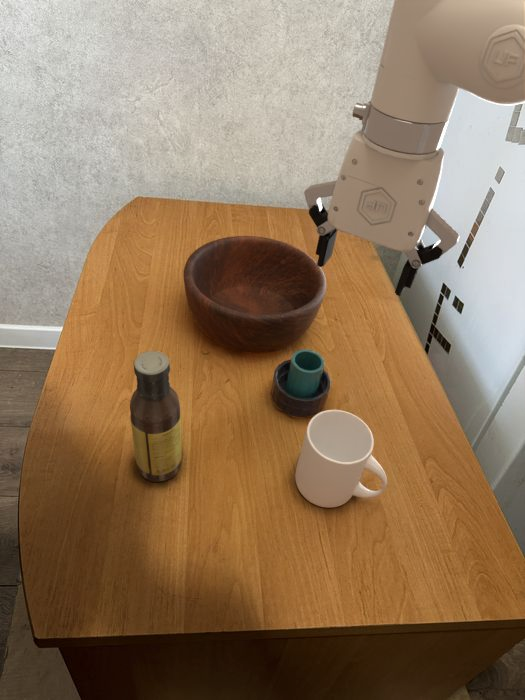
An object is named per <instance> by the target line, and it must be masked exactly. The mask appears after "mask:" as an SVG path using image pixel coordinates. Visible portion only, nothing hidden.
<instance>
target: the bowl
mask: <svg viewBox="0 0 525 700" xmlns="http://www.w3.org/2000/svg"><path fill="white" fill-rule="evenodd" d="M290 362H291V358H290V359H287V360H284V361H282V362H281V363H279V364H278V365H277V366H276V368H275V369H274V371H273V377H272V381H271V382H272V383H271V386H270V392H269V395H270V398H271V401H272V403H273V404H274V405H275V407H276V408H277V409H278V410H280V412H282V413H284V414H285V415H288V416H290V417H294V418H300V419H301V418H309V417H314V416H315V415H317V414H318V413H321V412H322V411H323V409H324V408H325V406H326V404H327V400H328V397H329V394H330V390H331V388H332V387H331V385H332V380H331V377H330V374H329V373H328V372H327V370H326V369H325V368H324V369H323V372H322V376H321V380H320V383H319V387H318V391H317V395H316V397H314V398H299V397H295V396H293V395H290V394H288V393H287V392H285V386H286V381H287V377H288V372H289V367H290Z"/></svg>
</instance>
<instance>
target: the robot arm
mask: <svg viewBox="0 0 525 700" xmlns="http://www.w3.org/2000/svg"><path fill="white" fill-rule="evenodd" d="M385 34H386V35H385V39H384V43H383V46H382V47H383V48H382V51H381V55H380V60H379V64H378V69H377V73H376V77H375V81H374V85H373V90H372V94H371V98H370V100H369V102H368V103H367V102H363V103H360V102H356V103H355V104H354V107H353V108H352V109H353V110H352V117H353V118H356V119H358V120H359V121H361V125H362V126H361V129H359V130H358V131H356V132H355V133H354V134H353V136H352V138H351V140H350V142H349V144H348V147H347V150H346V152H345V155H344V158H343V160H342V164H341V166H340V169H339V172H338V175H337V179H336V180H333V181H327V182H321V183H316V184H310V185H309V186H308V187H307V188H305V190H304V191H303V193H304V198H305V201H306V204H307V207H308V209H309V210H308V215H309V216H310V219H311V220H312V221H313V224H314V225H315V226H316V233H317V234H318V240H317V245H316V249H315V255H317V256H318V257H317V266H320V267H321V268H322V267H325V265H326V264H327V263H328V261H329V260H330V259H331V257H332V256H333V251H334V247H335V243H336V239H337V234H338V231H339V232H342V233H344V234H348V235H350V236H353V237H355V238H358V239H360V240H364V241H367V242H370V243H373V244H376V245H379V246H381V247H384V248H387V249H390V250H394V251H397V252H404V254H405V256H406V258H407V260H406V262H405V263H404V265H403V267H402V271H401V272H400V276H399V279H398V282H397V284H396V288H395V291H394V294H395V295H396V296H398V297H401V296H402V294H403V292H404V290H405V288H408V289H411V288H412V286H413V285H414V282H415V279H416V276H417V274H418V270H419V269H420V268H421V267H422V266H424V265H426V264H429V263H431V262H434V261H436V260H439V259H440V258H441V257H442V256H443V255H444V254H445V253H447V252H448V251H449V250H450V249H452V248H453V247H454V246H456V245H457V243H458V242H459V239H460V234H459V232H458V231H456V230H455V229H454V227H453V226H451V224H449V222H447V220H445V219H444V217H442V216H441V215H440V214H439V213H438V212H437V211H436V210H435V209H434V208H433V207H434V204H435V201H436V198H437V193H438V190H439V186H440V181H441V177H442V172H443V165H444V159H445V152H444V149H443V148H442V147H441V145H442V143H443V138H444V136H445V133H446V130H447V127H448V124H449V121H450V118H451V115H452V113H453V109H454V107H455V104H456V101H457V98H458V95H459V92H460V89H461V90H462V91H465V92H466V93H468V94H470V95H472V96H474V97H477V98H478V99H480V100H483V101H485V102H488V103H490V104H493V105H494V104H495V105H498V106H516V105H521V104H524V103H525V0H394V1H393V5H392V10H391V14H390V17H389V21H388V26H387V31H386V33H385ZM327 197H331V199H330V203H329V207H328V211H327V210H326V208H325V205H324V204H323V203H322V198H327ZM426 228H429V230H431V231H432V232H433V233H434V234H435V235H436V236H437V237H438V238H439V240H438V241H437V242H435V243H432V244H430V245H428V246H426V245H425V243H424V240H423V239H422V237H423V233H424V232H425V230H426Z"/></svg>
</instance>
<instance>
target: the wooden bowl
mask: <svg viewBox="0 0 525 700" xmlns="http://www.w3.org/2000/svg"><path fill="white" fill-rule="evenodd" d="M317 263H318V261H316V260H315V259H314V258H313V257H312V256H311V255H309V254H308V253H306V252H305V251H303V250H302V249H300V248H298V247H296V246H294V245H292V244H290V243H287V242H284V241H282V240H278V239H274V238H269V237H264V236H258V235H257V236H256V235H234V236H233V235H232V236H227V237H222V238H218V239H214V240H212V241H209V242H207V243H205V244H203V245H201V246H199V247H198V248H196V249H195V250H194V251H193V252H192V253H191V254H190V255H189V256H188V258H187V260H186V262H185V264H184V268H183V284H184V290H185V291H184V292H185V297H186V301H187V306H188V308H189V311H190V314H191V316H192V318H193V319H194V321H195V323H196V325H197V326H198V327H199V329H200V330H201V331H202V332H203V333H204V334H205V336H207V337H208V338H209V339H210V340H212V341H214V342H215V343H217V344H219V345H220V346H223V347H225V348H228V349H231V350H234V351H238V352H243V353H251V354H259V353H261V354H262V353H263V354H264V353H269V352H271V353H272V352H276V351H279V350H281V349H285V348H287V347H289V346H290V345H292V344H294V343H296V341H298V340H299V339H300V338H301V337H302V336H303V335H305V333H306V332H307V331H308V330H309V328H310V327H311V326H312V325H313V323H314V321H315V319H316V317H317V315H318V314H319V311H320V309H321V306H322V304H323V302H324V299H325V296H326V293H327V278H326V274H325V272H324V270H323V269H322V267H320V266H317Z"/></svg>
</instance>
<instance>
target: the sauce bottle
mask: <svg viewBox="0 0 525 700" xmlns="http://www.w3.org/2000/svg"><path fill="white" fill-rule="evenodd" d="M133 371H134V372H133V373H134V375H135V378H136V389H135V390H134V391H133V392H132V395H131V396H130V401H129V411H130V425H131V426H130V427H131V433H132V442H133V449H134V456H135V457H134V458H135V462H136V465H137V470H138V473H139V474H140V475H141V476H142V477H143V478H145V479H146V480H147V481H150V482H154V483H158V482H164V481H168V480H170V479H172V478H173V477H175V476H176V474H177V473H178V472H179V471H180V469H181V466H182V458H183V439H182V414H181V413H182V411H181V405H180V397H179V396H178V393H177V392H176V391H175V389H174V388H173V387H172V386H171V383H170V376H169V375H170V372H171V363H170V359H169V357H168V356H167V355H166V354H164V353H163V352H161V351H159V350H158V351H157V350H148V351H145V352H144V351H143V352H141V353H140V354H138V355H137V356H136V357H135V359H134V361H133Z"/></svg>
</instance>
